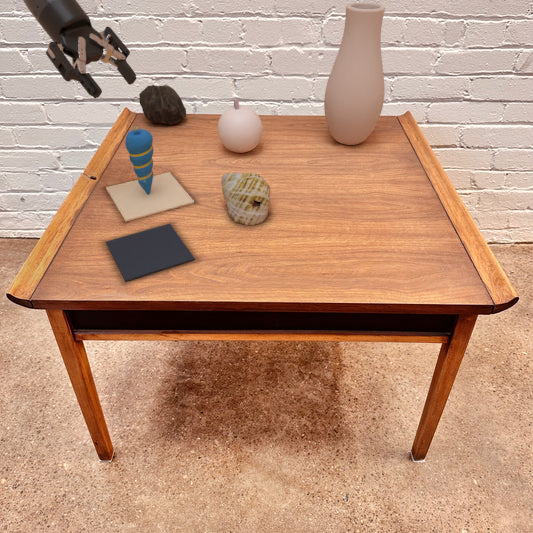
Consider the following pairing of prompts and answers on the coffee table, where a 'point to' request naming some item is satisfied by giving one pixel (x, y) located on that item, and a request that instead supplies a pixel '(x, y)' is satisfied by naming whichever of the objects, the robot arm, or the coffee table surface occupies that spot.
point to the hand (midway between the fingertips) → (116, 88)
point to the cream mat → (149, 197)
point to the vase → (356, 76)
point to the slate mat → (148, 252)
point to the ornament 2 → (240, 128)
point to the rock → (162, 104)
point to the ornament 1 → (141, 156)
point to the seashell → (246, 197)
